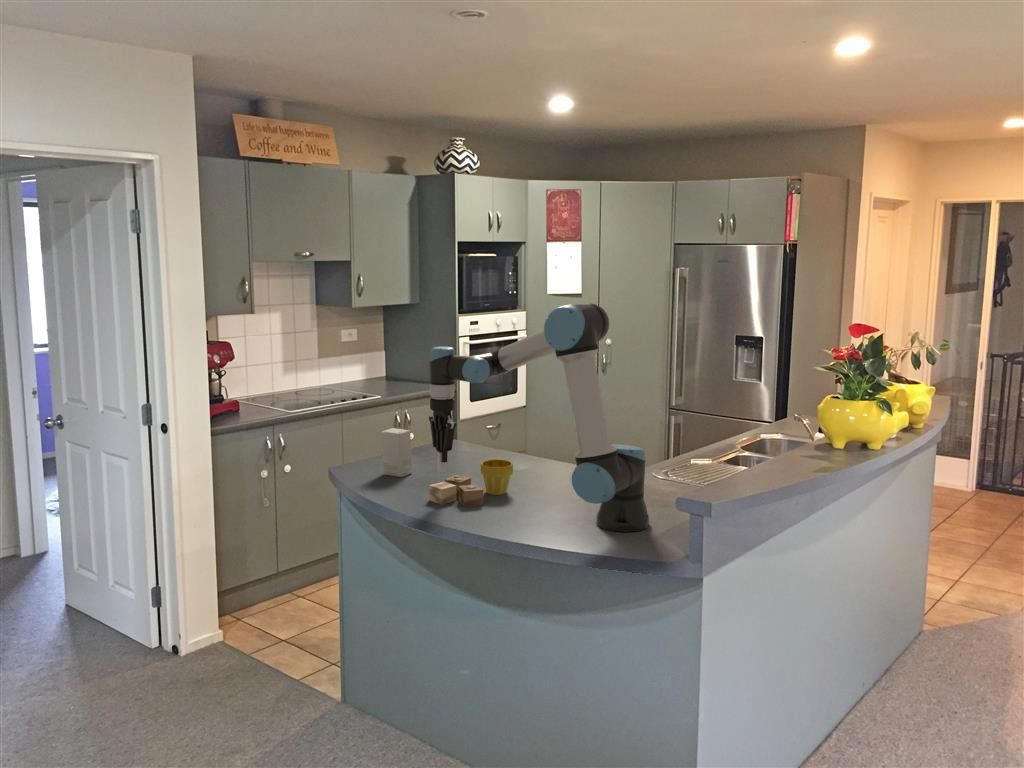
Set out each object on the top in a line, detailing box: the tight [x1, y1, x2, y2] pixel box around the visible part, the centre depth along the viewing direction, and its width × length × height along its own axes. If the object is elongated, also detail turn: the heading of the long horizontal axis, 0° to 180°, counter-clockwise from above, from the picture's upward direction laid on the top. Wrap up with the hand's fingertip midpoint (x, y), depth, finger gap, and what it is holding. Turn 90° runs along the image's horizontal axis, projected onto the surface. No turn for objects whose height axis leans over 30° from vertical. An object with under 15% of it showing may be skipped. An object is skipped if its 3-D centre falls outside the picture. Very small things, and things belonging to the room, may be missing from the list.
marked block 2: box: [458, 483, 484, 508], centre depth 266 cm, size 6×6×5 cm
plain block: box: [428, 481, 457, 505], centre depth 269 cm, size 6×6×5 cm
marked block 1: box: [444, 474, 472, 498], centre depth 277 cm, size 6×6×5 cm
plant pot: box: [480, 458, 514, 496], centre depth 277 cm, size 10×10×10 cm
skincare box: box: [380, 427, 413, 478], centre depth 297 cm, size 8×7×16 cm
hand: (442, 471), depth 268 cm, fingers closed
